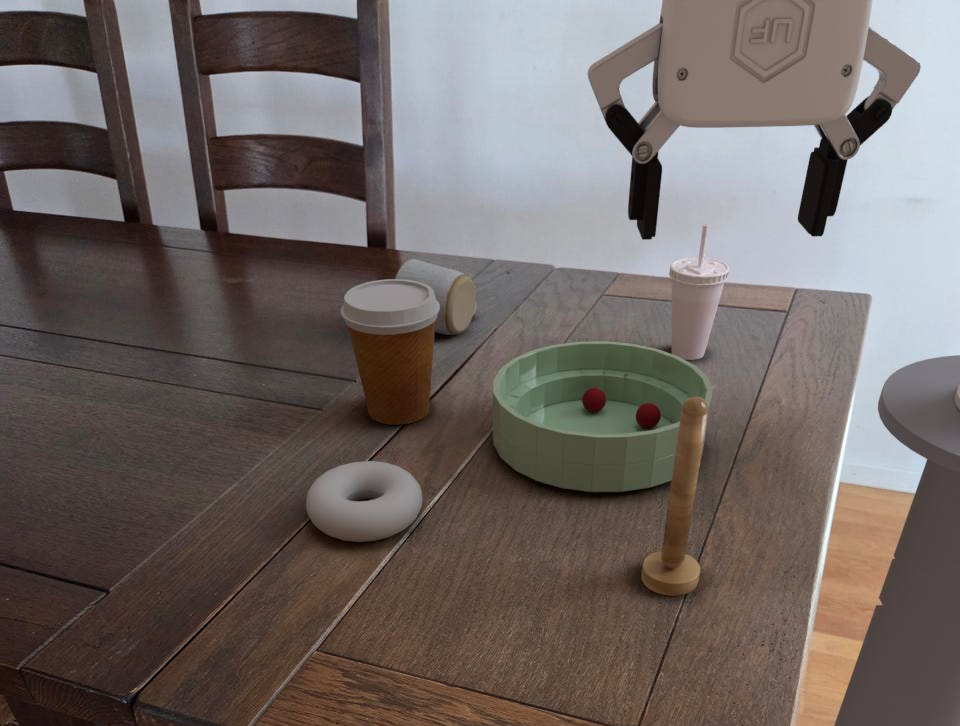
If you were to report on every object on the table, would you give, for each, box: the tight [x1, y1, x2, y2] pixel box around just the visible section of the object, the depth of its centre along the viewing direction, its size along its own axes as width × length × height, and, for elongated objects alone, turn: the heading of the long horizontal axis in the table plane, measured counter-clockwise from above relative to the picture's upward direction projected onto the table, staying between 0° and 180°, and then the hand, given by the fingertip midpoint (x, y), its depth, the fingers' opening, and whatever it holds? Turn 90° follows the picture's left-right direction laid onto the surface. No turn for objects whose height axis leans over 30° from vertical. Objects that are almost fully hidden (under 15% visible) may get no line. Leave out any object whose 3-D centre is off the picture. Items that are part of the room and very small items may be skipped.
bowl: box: [492, 340, 714, 493], centre depth 84 cm, size 20×20×6 cm
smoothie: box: [668, 224, 730, 361], centre depth 97 cm, size 6×6×14 cm
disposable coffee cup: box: [340, 278, 440, 426], centre depth 88 cm, size 10×10×12 cm
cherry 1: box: [582, 388, 606, 412], centre depth 89 cm, size 2×2×2 cm
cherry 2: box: [636, 403, 661, 429], centre depth 87 cm, size 2×2×2 cm
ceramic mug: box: [394, 258, 478, 336], centre depth 107 cm, size 11×8×8 cm
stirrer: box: [640, 397, 709, 597], centre depth 65 cm, size 4×4×15 cm
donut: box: [305, 460, 424, 543], centre depth 76 cm, size 10×3×10 cm
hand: (727, 231), depth 52 cm, fingers open, 9 cm apart
